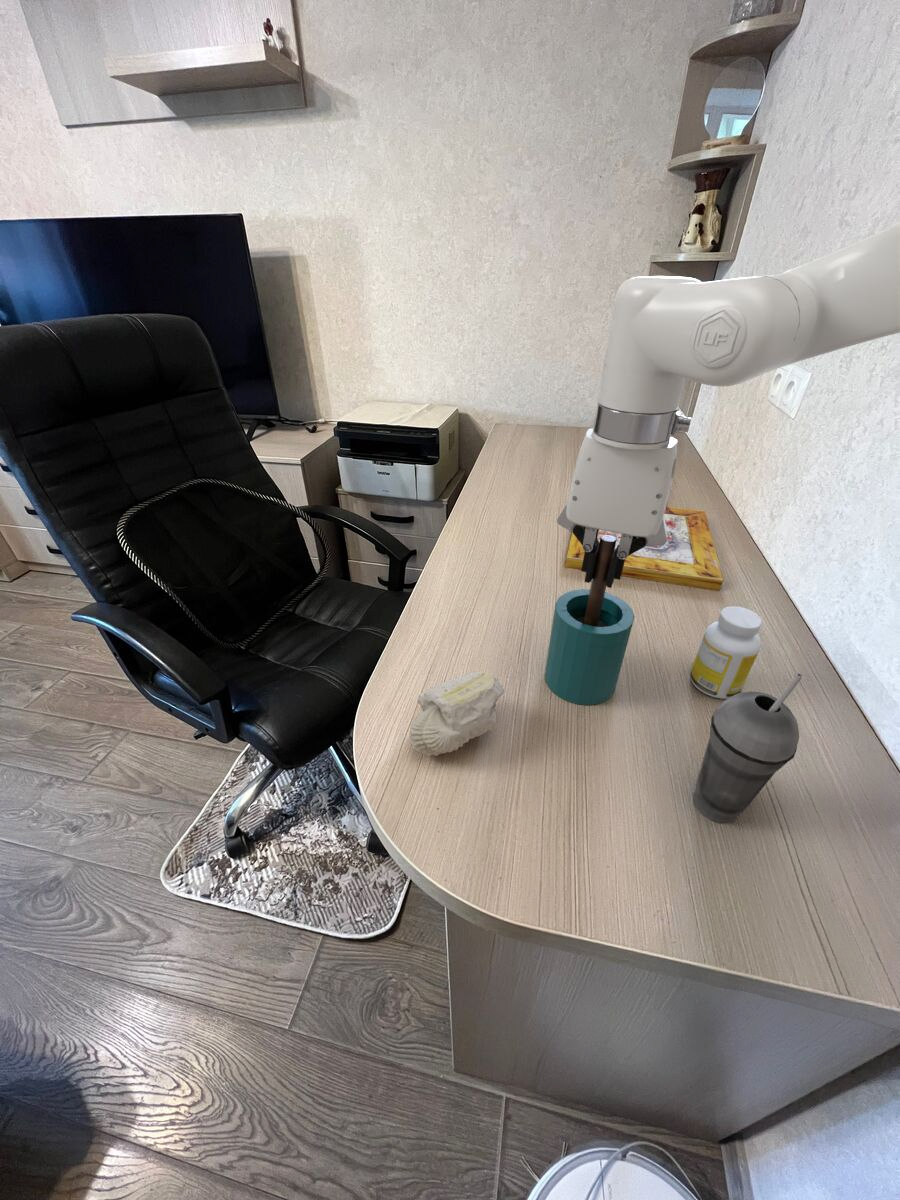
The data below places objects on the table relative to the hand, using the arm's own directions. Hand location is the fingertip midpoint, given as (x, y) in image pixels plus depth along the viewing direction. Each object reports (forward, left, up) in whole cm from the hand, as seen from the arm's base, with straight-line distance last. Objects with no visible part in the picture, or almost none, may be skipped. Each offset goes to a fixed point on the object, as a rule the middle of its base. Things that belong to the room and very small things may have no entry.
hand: (600, 578), depth 60 cm
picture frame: (-2, -46, -17) cm, 49 cm away
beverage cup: (-18, +13, -17) cm, 28 cm away
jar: (0, 0, -17) cm, 17 cm away
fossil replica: (+12, +16, -17) cm, 26 cm away
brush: (0, 0, -12) cm, 12 cm away
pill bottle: (-17, -7, -17) cm, 25 cm away
